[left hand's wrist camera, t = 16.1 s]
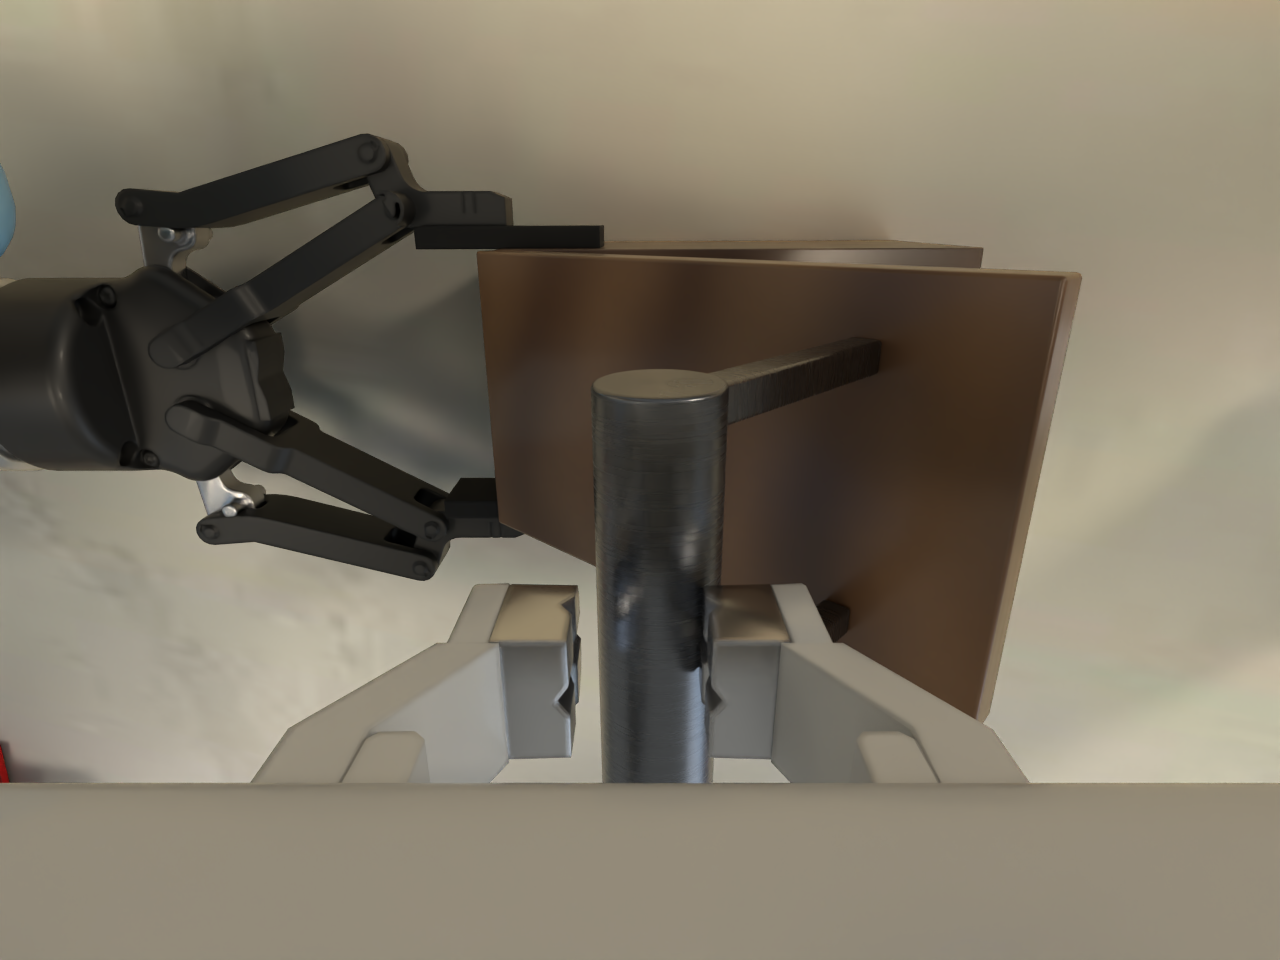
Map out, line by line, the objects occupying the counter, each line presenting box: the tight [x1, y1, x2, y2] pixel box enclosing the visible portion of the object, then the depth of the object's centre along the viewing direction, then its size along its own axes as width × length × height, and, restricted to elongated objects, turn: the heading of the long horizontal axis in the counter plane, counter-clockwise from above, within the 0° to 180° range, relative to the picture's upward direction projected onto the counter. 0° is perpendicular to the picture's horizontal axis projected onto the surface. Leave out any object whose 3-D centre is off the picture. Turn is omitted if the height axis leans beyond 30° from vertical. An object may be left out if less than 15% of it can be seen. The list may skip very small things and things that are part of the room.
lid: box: [477, 250, 1082, 783], centre depth 16 cm, size 17×10×9 cm
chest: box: [497, 240, 983, 268], centre depth 29 cm, size 17×10×9 cm, turn 90°
